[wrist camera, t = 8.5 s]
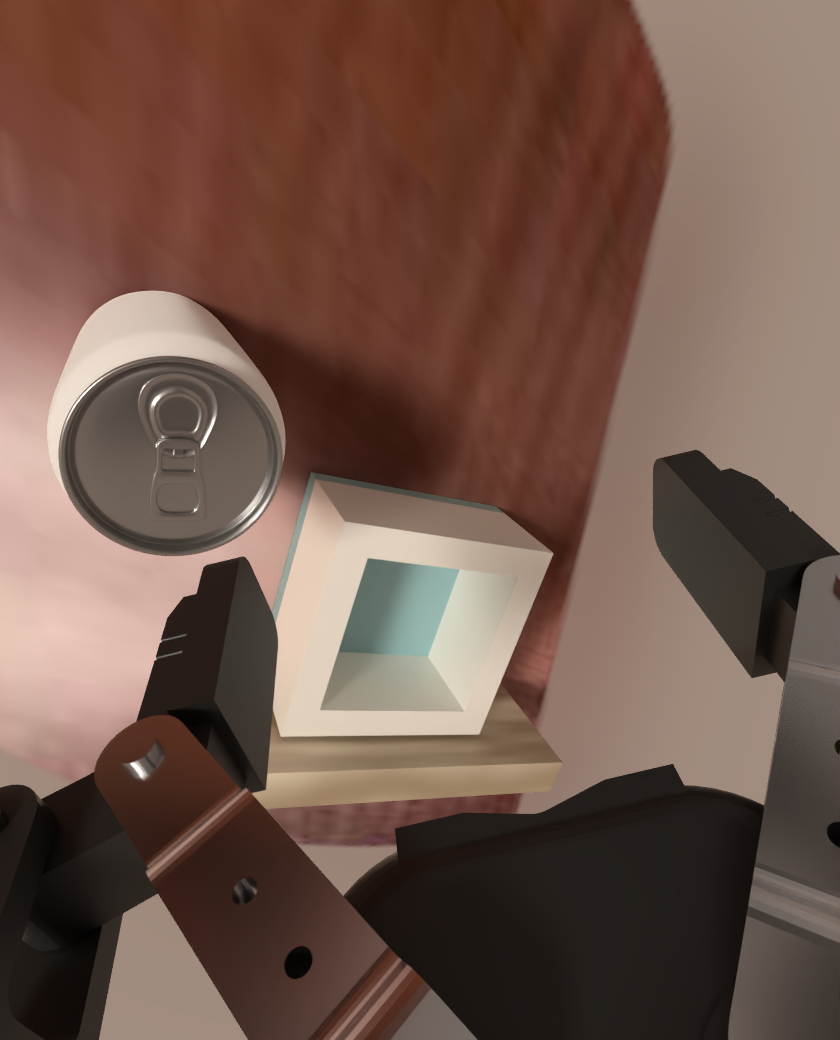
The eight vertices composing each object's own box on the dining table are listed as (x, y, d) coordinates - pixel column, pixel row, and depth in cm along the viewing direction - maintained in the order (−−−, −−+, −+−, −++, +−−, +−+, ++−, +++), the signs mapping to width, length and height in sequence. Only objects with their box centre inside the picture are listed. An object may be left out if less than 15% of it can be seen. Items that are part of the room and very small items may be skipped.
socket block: (310, 471, 32) (344, 521, 27) (495, 506, 37) (553, 553, 32) (259, 661, 35) (280, 736, 30) (435, 668, 40) (479, 734, 35)
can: (242, 298, 27) (307, 351, 17) (235, 445, 30) (289, 565, 20) (69, 278, 25) (28, 324, 15) (77, 440, 27) (46, 575, 17)
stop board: (170, 661, 33) (180, 776, 26) (493, 674, 42) (562, 762, 36) (162, 694, 34) (171, 814, 27) (483, 699, 43) (549, 791, 36)
